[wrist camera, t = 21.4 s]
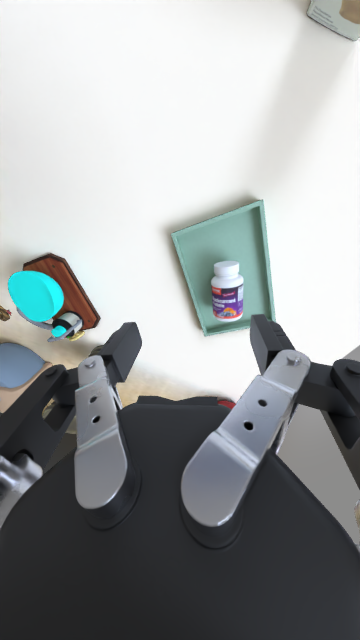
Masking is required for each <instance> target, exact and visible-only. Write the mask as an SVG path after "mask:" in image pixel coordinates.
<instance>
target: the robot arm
mask: <svg viewBox="0 0 360 640" xmlns="http://www.w3.org/2000/svg"><path fill="white" fill-rule="evenodd" d="M250 342H251V345H252V348H253V351H254V354H255V357H256V360H257V363H258V367H259V370H260V373H261V375H257V376H256V377H255V379H254V380H253V381H252V383H251V384H250V385H249V387H248V388H247V389H246V391H245V392H244V394H243V395H242V396H241V398H240V399H239V400H238V402H237V403H236V405H235V406H234V407H233V409H230V408H228V407H226V406H224V405H221V404H218V401H217V397H193V398H188V399H184V400H179V401H173V400H170V399H166V398H162V397H159V396H139V397H138V400H137V402H136V403H133V404H130V405H128V406H126V407H124V408H123V406H122V403H121V400H120V397H119V394H118V391H117V388H116V384H117V382H125V380H126V378H127V376H128V374H129V372H130V370H131V368H132V365H133V363H134V361H135V359H136V357H137V355H138V353H139V351H140V349H141V346H142V340H141V336H140V333H139V330H138V327H137V324H136V323H135V322H128V323H124V324H123V325H122V327H121V328H120V329H119V330H117V331H116V332H114V333H113V334H112V335H111V337H110V338H109V340H108V341H107V342H106V343H105V344H104V346H103V347H102V348H101V350H100V351H99V352H98V354H97V355H96V356H91V357H88V358H86V359H85V360H83V361H82V362H81V363H80V364H79V366H78V367H77V368H73V369H70V370H66V368H65V366H64V365H61V364H58V365H54V366H52V367H49V368H48V369H46V370H45V371H43V372H42V373H41V374H40V375H39V376H38V377H37V378H36V379H35V380H34V382H33V383H32V384H31V385H30V386H29V387H28V388H27V389H26V390H25V391H24V392H23V393H22V394H21V395H20V396H19V397H18V398H17V400H16V401H15V402H14V403H13V404H12V405H11V406H10V407H9V408H8V409H7V410H6V411H5V412H4V413H3V414H2V415H1V417H0V640H360V542H359V545H358V544H354V542H353V541H352V539H351V538H350V536H349V535H348V533H347V532H346V531H345V529H344V528H343V527H342V525H341V524H340V523H339V522H338V521H337V520H336V519H335V517H333V515H332V514H331V513H330V512H329V511H328V510H327V509H326V508H325V507H324V505H322V503H321V502H320V501H319V500H318V499H317V498H316V497H315V496H314V495H313V494H312V492H310V490H309V489H308V488H307V487H306V486H305V485H304V484H303V483H302V482H301V481H300V479H299V478H298V477H297V476H296V475H295V474H294V473H293V472H292V471H291V470H290V469H289V468H288V467H287V465H286V464H285V463H284V462H283V461H282V460H281V459H280V458H279V457H278V456H277V454H278V452H279V450H280V448H281V445H282V442H283V440H284V437H285V434H286V432H287V429H288V427H289V425H290V423H291V420H292V418H293V416H294V414H295V412H296V410H297V407H298V405H299V404H302V405H305V406H309V407H312V408H316V409H320V411H321V413H322V414H323V416H324V419H325V421H326V423H327V425H328V427H329V429H330V431H331V433H332V435H333V437H334V439H335V441H336V443H337V445H338V447H339V449H340V451H341V453H342V455H343V457H344V459H345V461H346V463H347V465H348V467H349V469H350V471H351V473H352V475H353V477H354V479H355V481H356V484H357V486H358V488H359V489H360V362H358V361H355V360H350V359H339V360H337V361H335V362H334V364H333V366H329V365H323V364H318V363H314V362H311V361H310V359H309V358H308V357H307V356H306V355H305V354H303V353H301V352H299V351H296V350H295V348H294V347H293V345H292V343H291V342H290V340H289V339H288V337H287V336H286V334H285V332H283V329H282V328H281V326H280V325H279V324H277V323H276V322H274V321H268V320H267V318H266V316H265V314H255V315H251V324H250ZM51 398H53V400H54V401H55V402H56V404H55V405H54V407H53V408H52V409H51V411H50V412H49V414H48V415H47V416H46V418H45V419H44V420H43V418H42V411H43V409H44V407H45V406H46V405H47V404H48V402H49V401H50V400H51ZM75 415H76V426H77V444H78V446H77V447H75V448H74V449H73V450H72V451H71V452H70V453H69V454H67V455H66V456H65V457H64V458H63V459H61V460H60V461H59V462H58V463H57V464H56V465H55V466H53V467H52V468H51V469H50V470H49V471H47V472H46V473H45V474H44V475H43V476H42V471H43V470H44V468H45V466H46V464H47V463H48V461H49V459H50V458H51V456H52V454H53V452H54V451H55V449H56V447H57V446H58V444H59V442H60V440H61V439H62V437H63V435H64V434H65V432H66V430H67V428H68V427H69V425H70V423H71V422H72V420H73V418H74V417H75ZM355 517H356V521H357V524H358V527H359V531H360V500H359V501H358V502H357V503H356V505H355Z"/></svg>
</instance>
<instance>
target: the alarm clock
mask: <svg viewBox="0 0 360 640" xmlns="http://www.w3.org/2000/svg"><path fill="white" fill-rule="evenodd" d="M49 367H52V364H51V363H49V362H47V363H45V362H44V360H43V359H41V358H40V357H39V356H38V355H37V354H36V353H34V352H33V351H31V350H29V349H28V348H26V347H24V346H21V345H18V344H13V343H3V344H0V412H2V413H4V412H5V411H6V410H7V409H8V408H9V407H10V406H11V405H12V404H13V403H14V402H15V401H16V400H17V398H18V397H19V396H20V395H21V394H22V393H23V392H24V391H25V390H26V389H27V388H28V387H29V386H30V385H31V384H32V383H33V382H34V380H35V379H36V378H37V377H38V376H39V375H40V374H41V373H42V372H43V371H45V370H46V369H48V368H49Z"/></svg>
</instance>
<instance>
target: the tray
mask: <svg viewBox="0 0 360 640" xmlns="http://www.w3.org/2000/svg"><path fill="white" fill-rule="evenodd" d="M171 236H172V239H173V242H174V245H175V248H176V251H177V254H178V257H179V260H180V263H181V266H182V269H183V272H184V275H185V278H186V281H187V284H188V287H189V290H190V293H191V296H192V299H193V302H194V305H195V308H196V311H197V314H198V317H199V320H200V323H201V326H202V329H203V333H204V336H210V335H215V334H220V333H226V332H231V331H236V330H241V329H247V328H250V324H251V315H255V314H265V316H266V318H267V320H268V321H274V322H276V319H275V309H274V299H273V289H272V279H271V270H270V260H269V250H268V240H267V230H266V220H265V211H264V201H263V200H259V201H257V202H254V203H251V204H249V205H246V206H243V207H241V208H238V209H235V210H233V211H230V212H227V213H225V214H222V215H219V216H217V217H214V218H211V219H209V220H206V221H203V222H201V223H198V224H195V225H193V226H190V227H187V228H185V229H182V230H179V231H177V232H174V233H172V234H171ZM222 261H237V262H239V272H238V274H240V275H241V276H242V277H243V314H242V317H241V318H240V319H238V320H236V321H231V322H224V321H220V320H217V319H216V318H215V317H214V315H213V302H212V288H211V280H212V278H213V277H214V276H216V275H215V273H214V264H216V263H218V262H222Z"/></svg>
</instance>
